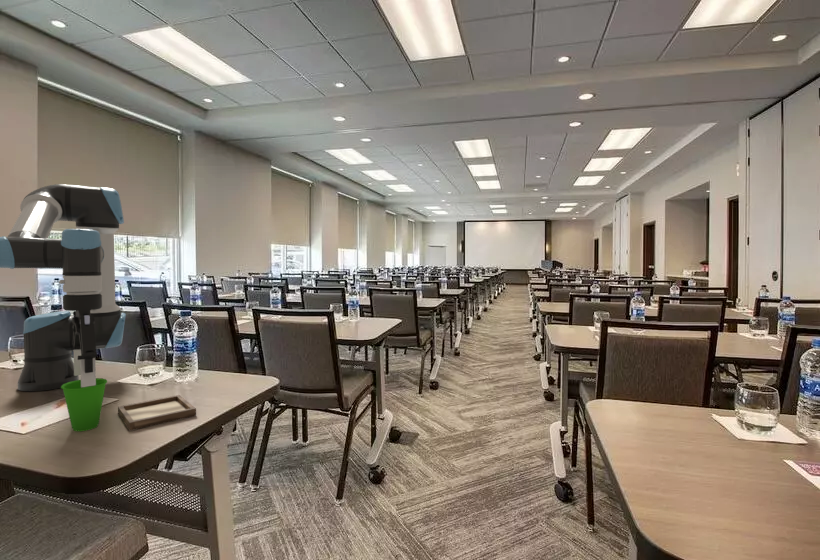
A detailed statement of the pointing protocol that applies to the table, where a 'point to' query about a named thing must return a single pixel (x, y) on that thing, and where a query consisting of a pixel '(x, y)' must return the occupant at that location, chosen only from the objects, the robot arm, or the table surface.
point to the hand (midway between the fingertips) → (84, 380)
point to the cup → (84, 403)
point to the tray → (155, 412)
